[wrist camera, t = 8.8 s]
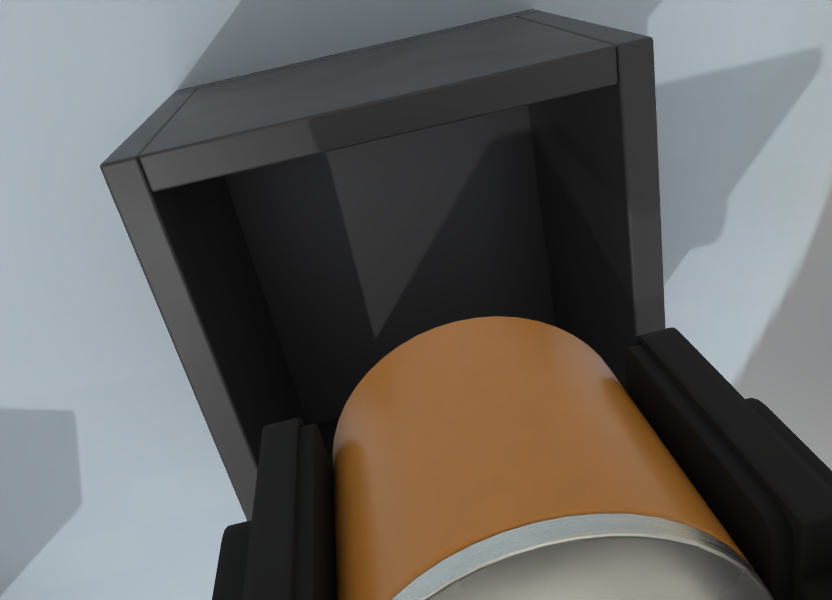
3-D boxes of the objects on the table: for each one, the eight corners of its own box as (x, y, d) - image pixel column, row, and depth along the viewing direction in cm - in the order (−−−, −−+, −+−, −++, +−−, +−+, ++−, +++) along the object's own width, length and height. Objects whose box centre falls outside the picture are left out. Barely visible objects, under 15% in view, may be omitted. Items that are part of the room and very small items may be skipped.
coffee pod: (296, 357, 10) (282, 609, 6) (613, 281, 10) (798, 481, 6) (371, 584, 12) (395, 880, 8) (632, 520, 12) (780, 780, 8)
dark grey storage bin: (174, 91, 22) (97, 165, 14) (534, 8, 22) (654, 36, 14) (293, 433, 28) (286, 617, 20) (574, 364, 28) (674, 519, 21)
